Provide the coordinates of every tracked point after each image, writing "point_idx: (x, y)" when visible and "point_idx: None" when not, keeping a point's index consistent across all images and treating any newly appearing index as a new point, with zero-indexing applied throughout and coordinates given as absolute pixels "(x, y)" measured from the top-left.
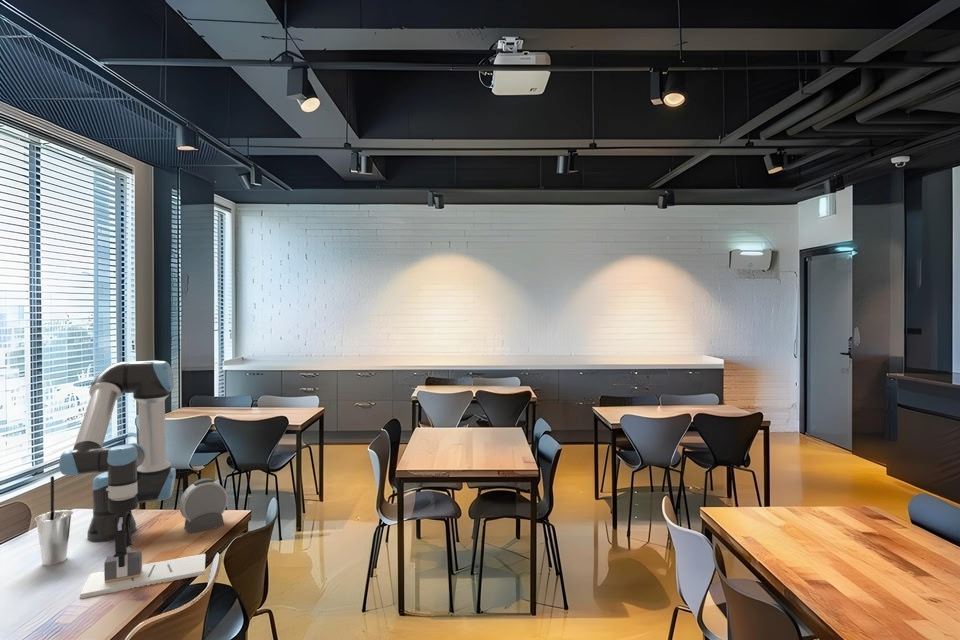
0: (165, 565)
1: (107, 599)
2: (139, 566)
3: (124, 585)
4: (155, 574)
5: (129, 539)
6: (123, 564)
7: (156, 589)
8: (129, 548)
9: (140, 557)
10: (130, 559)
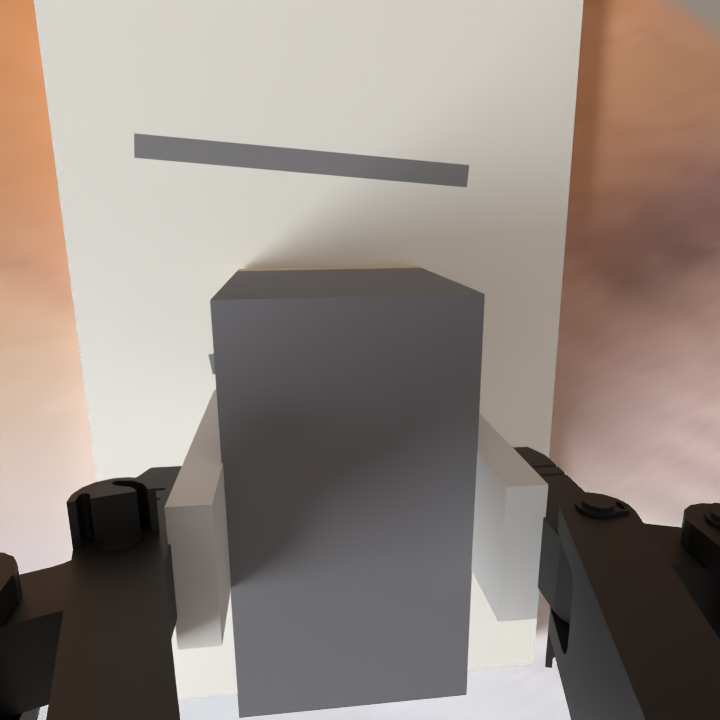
0: (208, 10)
1: (647, 454)
2: (445, 278)
3: (549, 373)
4: (432, 109)
5: (151, 609)
6: (550, 464)
7: (682, 85)
8: (215, 501)
9: (361, 289)
10: (474, 407)
